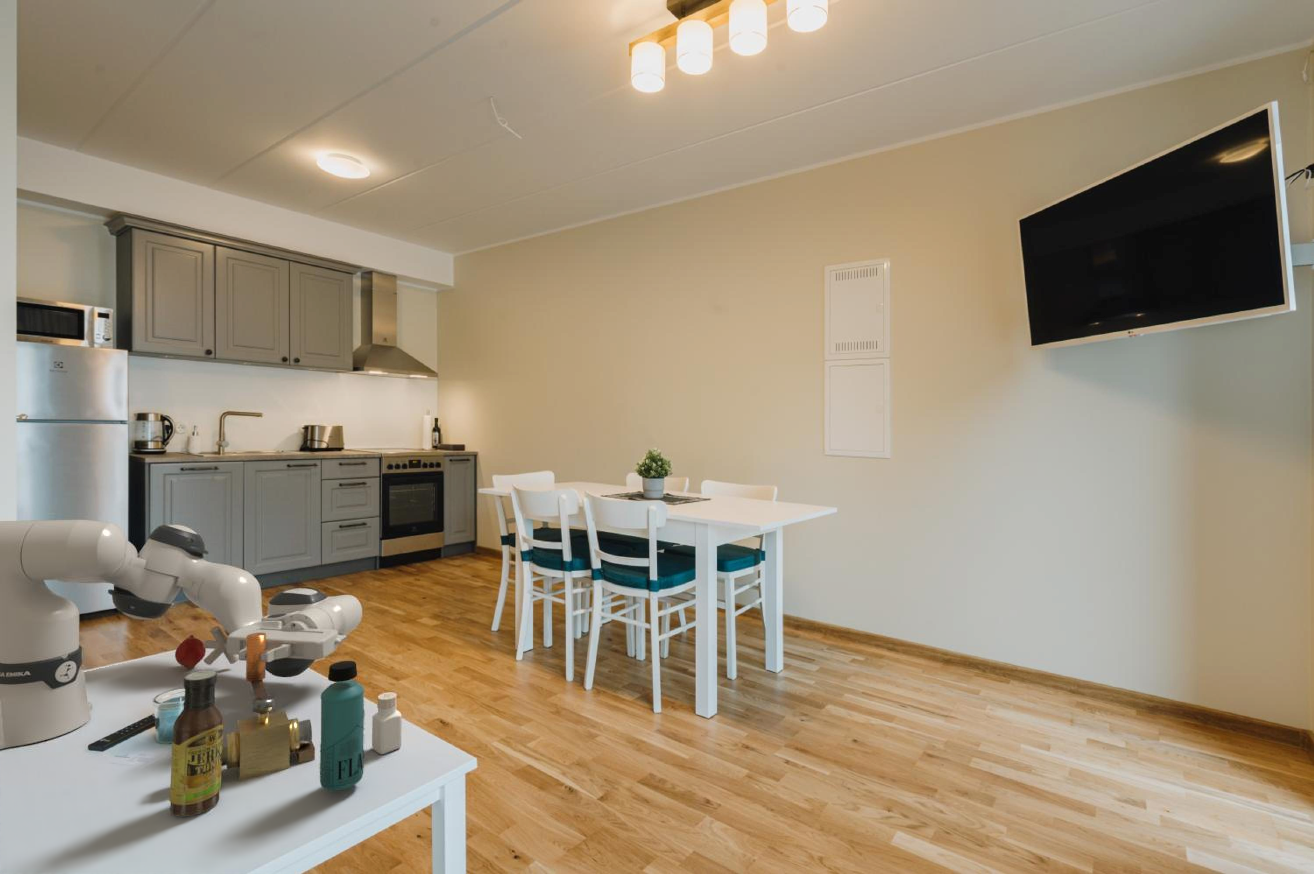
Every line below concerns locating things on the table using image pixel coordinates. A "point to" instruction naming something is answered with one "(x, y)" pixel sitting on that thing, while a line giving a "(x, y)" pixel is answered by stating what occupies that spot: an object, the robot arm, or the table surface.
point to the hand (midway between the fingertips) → (252, 657)
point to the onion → (190, 652)
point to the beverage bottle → (342, 728)
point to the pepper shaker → (386, 724)
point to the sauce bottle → (197, 748)
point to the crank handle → (257, 673)
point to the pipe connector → (218, 647)
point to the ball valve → (267, 744)
